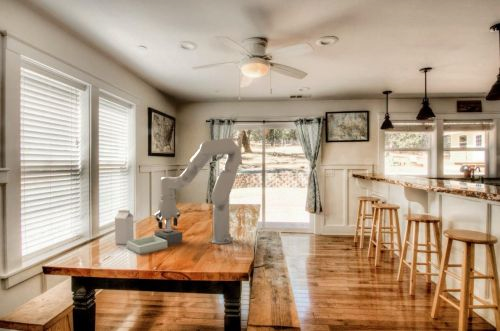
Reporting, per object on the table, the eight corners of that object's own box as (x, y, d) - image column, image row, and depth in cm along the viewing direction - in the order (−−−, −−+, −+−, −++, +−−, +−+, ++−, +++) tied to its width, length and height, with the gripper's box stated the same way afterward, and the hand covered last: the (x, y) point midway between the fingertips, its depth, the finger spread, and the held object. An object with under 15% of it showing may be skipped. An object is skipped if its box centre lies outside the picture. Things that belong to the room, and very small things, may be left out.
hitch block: (182, 242, 165) (182, 232, 165) (166, 246, 158) (166, 235, 158) (169, 238, 175) (169, 228, 175) (154, 241, 168) (154, 231, 168)
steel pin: (172, 241, 166) (172, 214, 166) (167, 243, 164) (166, 215, 164) (169, 240, 169) (169, 213, 169) (164, 242, 166) (163, 214, 166)
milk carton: (126, 244, 162) (125, 211, 162) (115, 244, 163) (114, 211, 163) (133, 241, 169) (133, 209, 168) (123, 240, 170) (122, 209, 170)
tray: (167, 247, 155) (167, 240, 155) (139, 254, 144) (139, 247, 144) (153, 242, 166) (153, 235, 166) (126, 248, 155) (126, 241, 155)
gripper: (177, 195, 175) (177, 223, 175) (150, 198, 162) (151, 228, 163) (184, 196, 170) (184, 225, 170) (157, 200, 157) (157, 230, 157)
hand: (168, 227), depth 166 cm, fingers open, 9 cm apart
